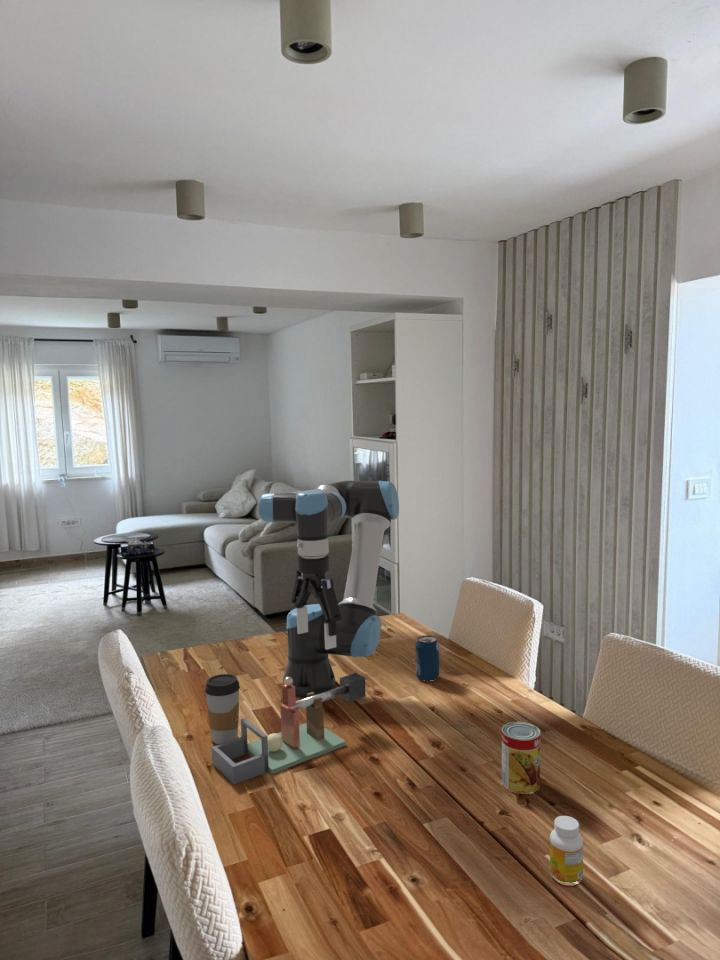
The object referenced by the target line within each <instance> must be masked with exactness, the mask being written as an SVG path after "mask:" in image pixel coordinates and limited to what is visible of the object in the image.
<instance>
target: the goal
mask: <svg viewBox="0 0 720 960" xmlns="http://www.w3.org/2000/svg"><path fill="white" fill-rule="evenodd" d="M248 730H250V731H251V732H252V733H253V734H255V735H256V736H257V737H258V738H260V739H261V742H262V754H260V755H258V756H255V757H249V758H247V759H245V760H242V761H239V762H236V763H235V762H234V761H233V760H234V759H237V758H239V757H243V756H245V755H247V754H248ZM240 735H241V736H240V737H237V739H234V740H231V741H228V742H225V743H222V744H216V745H214V746H211V763H212V765H213V766H214V767H215V769H217V770H218V771H219V772H220V773H221V774H222V775H224V777H226V779H227V780H229V781H230V783H231V784H233V786H234V785H237V784H240V783H243V782H245V781H248V780H249V779H253V778H255V777H257V776H260V775H263V774H266V773H268V772H269V763H268V738H267V737H268V735H267V734H266V733H264V732H263V731H262V730H261V729H259V728H258V727H257V726H255V724H253V723H251V722H250V721H249V720H248V719H246V718H245V717H244V718H241V719H240ZM248 755H249V754H248Z"/></svg>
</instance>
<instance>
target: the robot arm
mask: <svg viewBox="0 0 720 960" xmlns="http://www.w3.org/2000/svg"><path fill="white" fill-rule="evenodd" d="M257 509H258V510H257V511H258V512H257V513H258V516H259V518H260V519H261V520H262V521H263V522H266V523H267V522H268V523H272V524H273V523H286V524H287V523H295V524H296V535H297V536H296V538H297V539H296V540H297V544H296V547H297V554H298V555H299V556H298V557H297V564H298V565H297V569H298V570H296V571H295V572H296V573H295V582H294V586H293V590H292V594H291V599H290V601H291V604H294V607H295V608H294V609H292V610H290V612H288V614H287V616H286V636H287V637H286V639H287V641H286V642H287V659H288V660H287V664H286V667H285V671H284V675H283V677H282V685H285V684H284V679H285V678H286V677H291V678H292V679H293V684H292V685H293V686H295V696H297V697H307V696H306V694H307V693H310V692H314V694H315V695H317V694H320V693H323V692H326V691H330V690H333V689H335V686H336V676H335V673H334V670H333V668H332V665H331V663H330V659H329V655H335V656H343V657H344V656H345V657H352V658H368V657H370V656H372V655H373V653H374V652H375V651H376V649H377V647H378V645H379V642H380V638H381V634H382V628H381V627H382V620H381V618H380V617H379V615H377V613H378V612H377V610H376V608H375V607H374V606H373V604H374V600H375V599H374V597H375V591H376V586H377V585H376V584H377V579H378V573H379V566H380V562H381V561H380V559H381V555H382V547H383V541H384V533H385V531H386V530H387V529H388V528H390V527H391V523H392V520H397V519H398V516H399V514H400V513H399V512H400V502H399V495H398V490H397V488H396V486H395V484H394V483H393V482H391V481H385V480H342V481H337V482H333V483H327V484H321V485H320V486H318V487H316V488H313V489H307V490H299V491H290V492H284V493H276V492H272V493H264V494H262V495H261V496H260V498H259V499H258V506H257ZM342 518H351V519H352V521H353V523H354V524H355V525H356V527H355V532H354V537H353V544H352V548H351V555H350V560H349V566H348V570H347V571H348V572H347V577H346V583H345V587H344V589H345V590H344V593H343V600H342V601H339V602H338V600H337V599H338V598H337V595H336V593H335V588H334V580H333V578H329V579H327V578H326V573H327V572H328V571H330V556H329V555H328V554H329V553H330V549H329V545H330V544H329V525H331V524H333V523H334V524H335V523H337V522H338V521H340V519H342ZM311 594H312V595H313V596H314V598H315V599H317V601H318V603H313V604H308V601H309V598H310V597H311Z"/></svg>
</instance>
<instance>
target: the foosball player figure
mask: <svg viewBox="0 0 720 960" xmlns="http://www.w3.org/2000/svg"><path fill="white" fill-rule="evenodd" d="M314 695H315V694H314V692H310V693H307V694H306V696H305V697H306V698H308V697H311V696H314ZM305 713H306V714H305V715H306V717H305V718H306V719H305V721H306V723H307V733H308V734H309V735H311V736H312V737H314V738H315V739H317V740H321V739H324V727H325V716H324V715H325V714H324V713H325V712H324V707H323V702H322V697H321V696H320V697H317V698H314V705H311V706H308V707H305Z"/></svg>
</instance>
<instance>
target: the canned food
mask: <svg viewBox="0 0 720 960" xmlns="http://www.w3.org/2000/svg"><path fill="white" fill-rule="evenodd" d="M501 784H503V785H504V786H505V788H507V789H508V790H510V791H513V792H515V793H530V792H534V791H536V790H537V789H539V787H540V788H541V730H540V728H539V727H538V726H536V725H534V724H532V723H528V722H525V721H512V722H510V721H509V722H508V723H506V724H503V726H502V727H501ZM503 785H502V786H503ZM505 788H504V789H505ZM508 790H507V791H508ZM539 790H540V789H539ZM510 791H509V792H510ZM515 793H514V794H515Z"/></svg>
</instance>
